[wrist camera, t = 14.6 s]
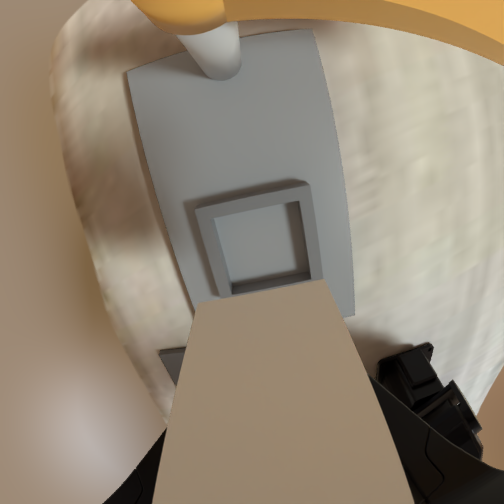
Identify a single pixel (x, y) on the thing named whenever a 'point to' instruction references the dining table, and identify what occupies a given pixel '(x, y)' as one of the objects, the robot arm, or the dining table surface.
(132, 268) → the dining table surface
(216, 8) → the bar
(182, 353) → the rubber pad
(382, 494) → the plug
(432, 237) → the dining table surface
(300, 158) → the socket board
